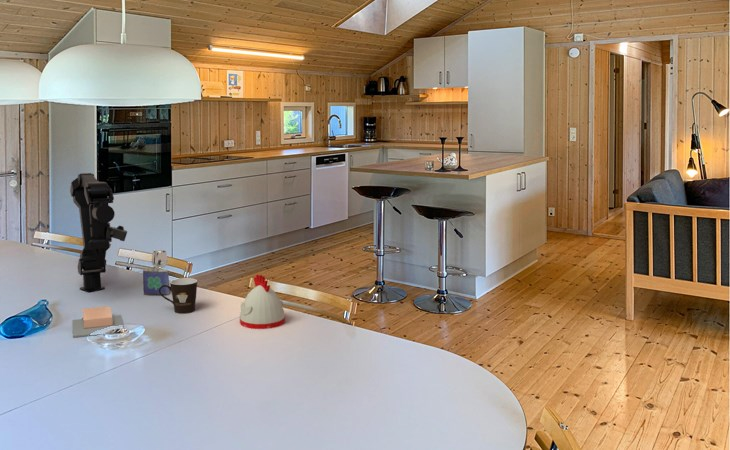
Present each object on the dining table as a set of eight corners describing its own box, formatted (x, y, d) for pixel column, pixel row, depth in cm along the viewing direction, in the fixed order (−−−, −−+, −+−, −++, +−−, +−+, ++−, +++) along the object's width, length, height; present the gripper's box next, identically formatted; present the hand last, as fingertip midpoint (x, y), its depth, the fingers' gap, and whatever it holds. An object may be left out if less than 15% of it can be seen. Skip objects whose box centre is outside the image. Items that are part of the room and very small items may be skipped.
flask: (170, 293, 230) (169, 264, 229) (167, 296, 228) (166, 266, 226) (145, 293, 231) (143, 264, 229) (142, 295, 228) (140, 266, 226)
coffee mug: (203, 308, 214) (202, 279, 212) (188, 316, 206) (187, 285, 204) (173, 304, 217) (172, 276, 216) (157, 311, 209) (156, 282, 208)
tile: (82, 309, 200) (83, 320, 190) (109, 306, 204) (112, 317, 193) (82, 317, 201) (83, 328, 190) (110, 314, 204) (112, 325, 194)
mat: (72, 321, 198) (72, 319, 198) (120, 316, 204) (120, 314, 204) (73, 337, 184) (72, 336, 184) (124, 331, 190) (124, 330, 190)
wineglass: (154, 284, 242) (152, 253, 240) (151, 281, 247) (150, 250, 245) (169, 283, 244) (168, 252, 242) (166, 279, 249) (165, 249, 247)
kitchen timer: (269, 312, 211) (268, 268, 208) (293, 323, 201) (293, 276, 198) (231, 320, 202) (230, 274, 199) (254, 332, 192) (254, 283, 189)
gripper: (124, 221, 208) (127, 269, 210) (125, 216, 225) (128, 260, 227) (87, 223, 204) (90, 271, 206) (91, 218, 222) (94, 262, 224)
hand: (102, 266), depth 216 cm, fingers closed
